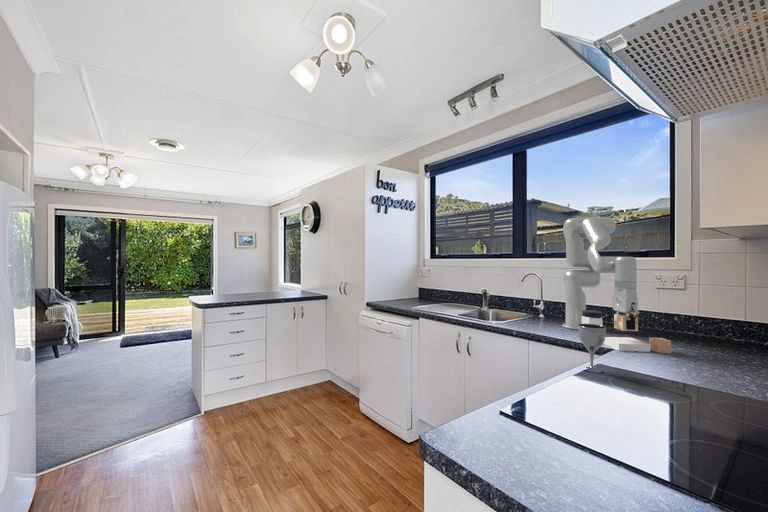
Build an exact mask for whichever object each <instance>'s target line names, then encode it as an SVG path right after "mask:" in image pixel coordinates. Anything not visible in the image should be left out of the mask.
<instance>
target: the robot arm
mask: <svg viewBox="0 0 768 512" xmlns="http://www.w3.org/2000/svg"><path fill="white" fill-rule="evenodd" d="M616 226H617V224H616V222H615V220H614V219H613V218H612V217H609V216H603V217H602V216H590V217H573V218H572V217H570V218H567V220H565V221H564V223H563V227H562V232H563V236H564V239H565V252H566V253H565V258H566V264H567V266H568V267H570V268H585V269H570V270H567V271H565V273H564V275H563V282H564V287H565V289H564V290H565V319H564V321H565V323H562V328H565V329H570V330H578V324H582V311H583V310H587V307H586V306H587V300H586V299H587V298H586V297H587V296H586V294H585V292H584V290H583V289H582V288H596V287H598V286H599V285H600V283H601V274H614V289H613V293H612V294H613V296H612V310H613V311H614V314H626V315H627V319H628V320H626V329H628V330H635V320H636V318H637V317H639V314H640V311H639V310H638V309H639V301H638V300H639V299H638V293H637V289H638V288H637V287H638V286H637V281H638V280H637V277H638V276H637V259H636V257H634V256H611V255H610V256H609V255H608V256H606V255H605V256H601V255H600V253H599V252H598V251H600V250H602V249H605V248H606V247H607V246H609V245H610V244H611V242H612V237H611V234H613V233H615V230H616ZM579 234H585V236H586V238H587V239H588V241H589V244H590V245H589V247H588V249H587V250H585V243H584V239H583V238H582V237H581V236H580V235H579ZM630 315H631V316H630Z"/></svg>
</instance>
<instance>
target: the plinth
mask: <svg viewBox="0 0 768 512" xmlns="http://www.w3.org/2000/svg"><path fill="white" fill-rule="evenodd" d="M603 345H605V346H607V347H609V346H610V347H609V348H611V347H612V348H611V349H613V348H614V350H616V351H618V352H634V351H638V353H640V352H641V353H650V352H651V350H650V344H649V343H647V342H644V341H641V340H639V339H636V338H634V337H628V336H625V337H623V336H620V337H619V336H605V341H604V343H603Z"/></svg>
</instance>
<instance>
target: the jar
mask: <svg viewBox="0 0 768 512" xmlns="http://www.w3.org/2000/svg"><path fill="white" fill-rule="evenodd" d="M584 323H585V324H597V325H602V326H603V312H602V311H598V310H593V309H589V310H588V309H586V310H583V311H582V324H584Z"/></svg>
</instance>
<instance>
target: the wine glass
mask: <svg viewBox="0 0 768 512" xmlns="http://www.w3.org/2000/svg"><path fill="white" fill-rule="evenodd" d="M606 334H607V327H606V326H605V325H603V324H602V325H597V324H585V323H584V324H578V338H579V340H580V342H581V344H582V345H583V346H584V347H585V348H586V349H587V351H588V354H589V359H590V361H589V362H590V365H589V366H588V367H586V368H590V369H596V368H597V367H595V366H594V357H595V353H596V352H597V351H598V349H600V348H601V347H602V346H603V345H604V344H603V343H604V341H605V337H607V336H606Z"/></svg>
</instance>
